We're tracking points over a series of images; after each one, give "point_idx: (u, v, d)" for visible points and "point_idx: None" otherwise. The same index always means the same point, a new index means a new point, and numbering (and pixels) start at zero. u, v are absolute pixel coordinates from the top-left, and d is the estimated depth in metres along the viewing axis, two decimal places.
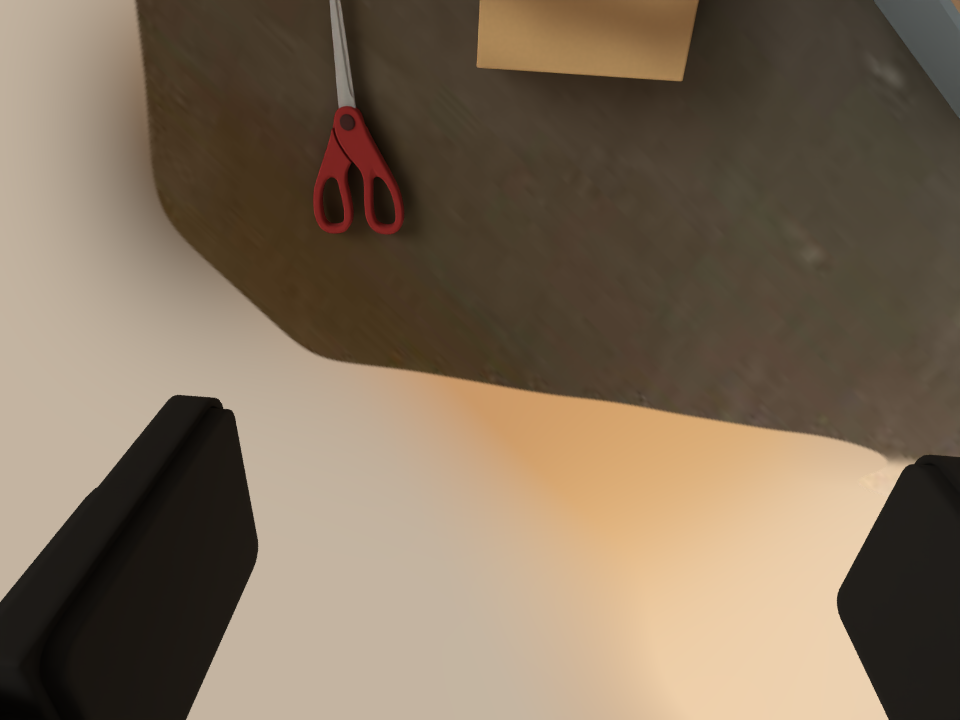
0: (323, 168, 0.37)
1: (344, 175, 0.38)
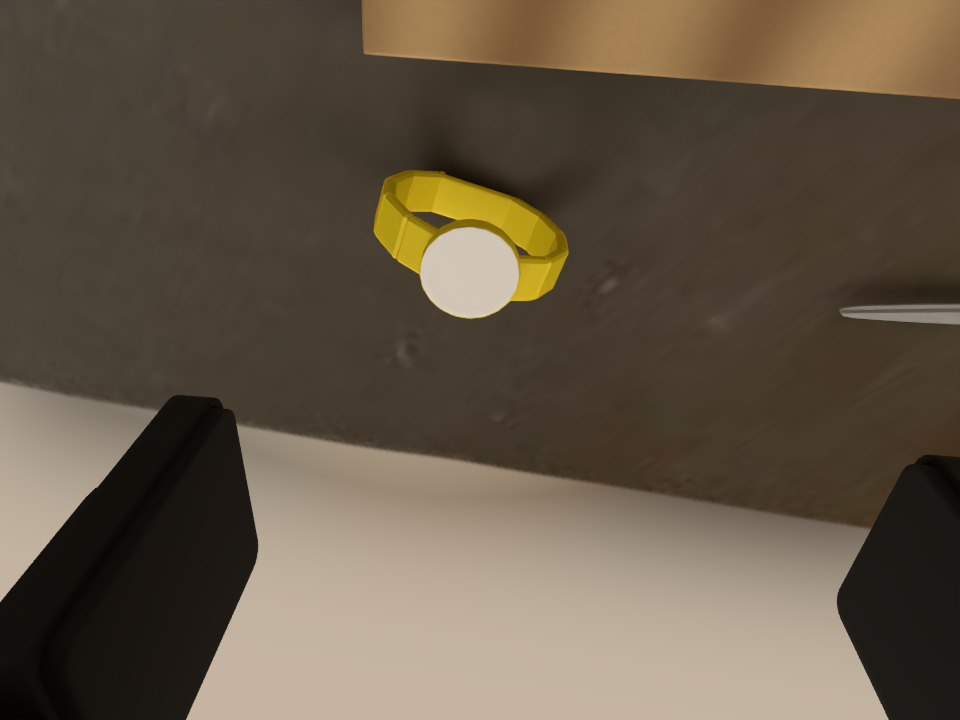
0: None
1: None
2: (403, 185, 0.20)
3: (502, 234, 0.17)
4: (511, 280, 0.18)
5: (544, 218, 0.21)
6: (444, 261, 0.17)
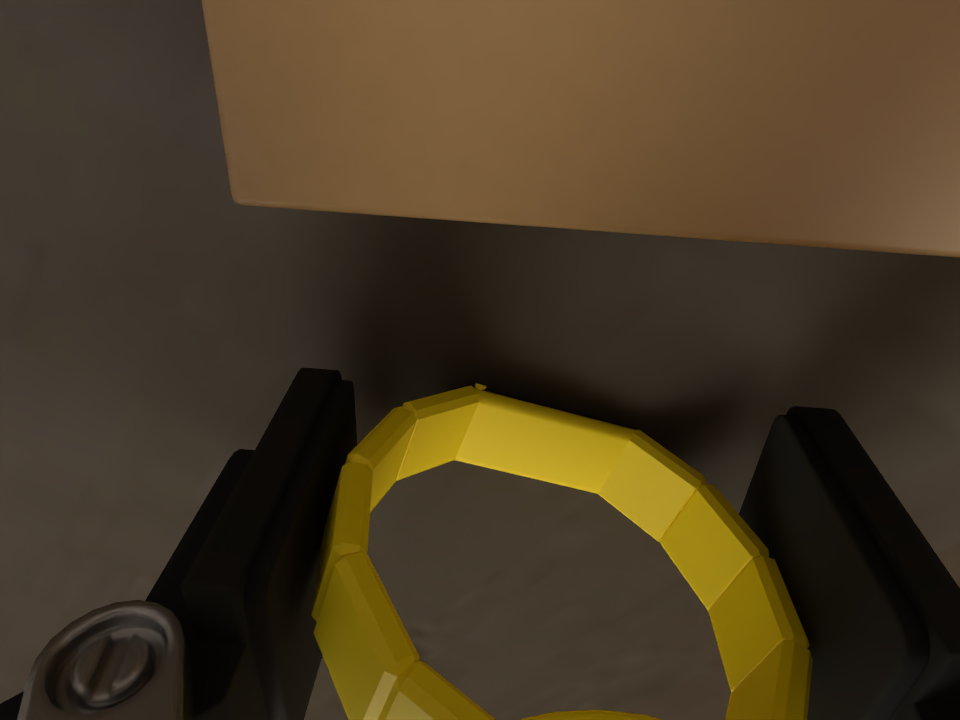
0: None
1: None
2: (391, 455, 0.08)
3: None
4: None
5: (712, 497, 0.09)
6: None
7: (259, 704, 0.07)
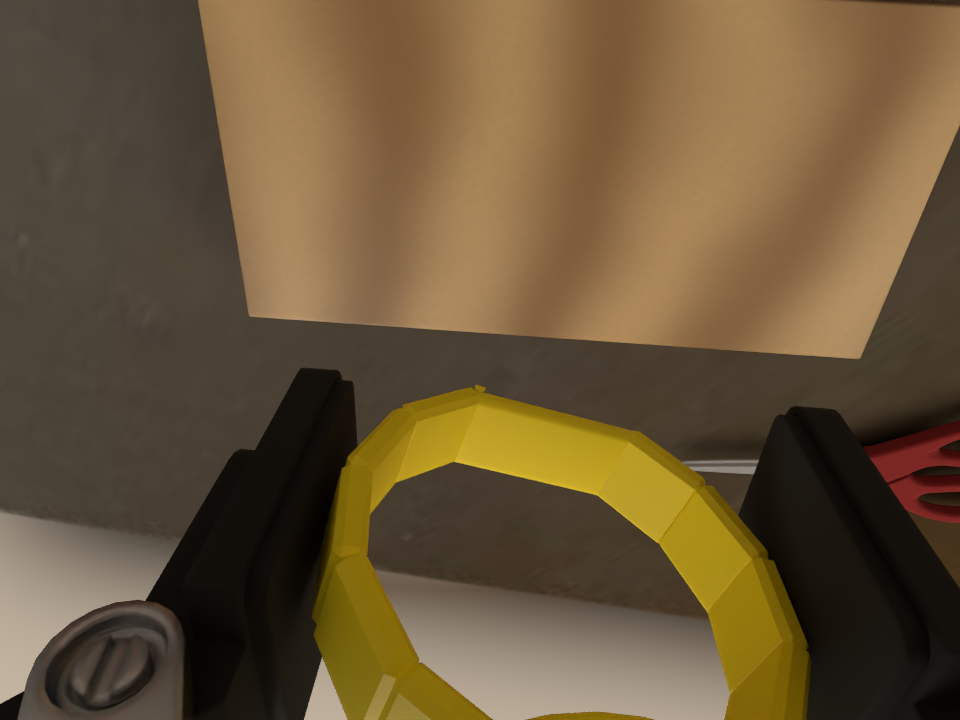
0: (904, 506, 0.28)
1: (923, 485, 0.27)
2: (391, 457, 0.08)
3: None
4: None
5: (711, 499, 0.09)
6: None
7: (259, 703, 0.07)
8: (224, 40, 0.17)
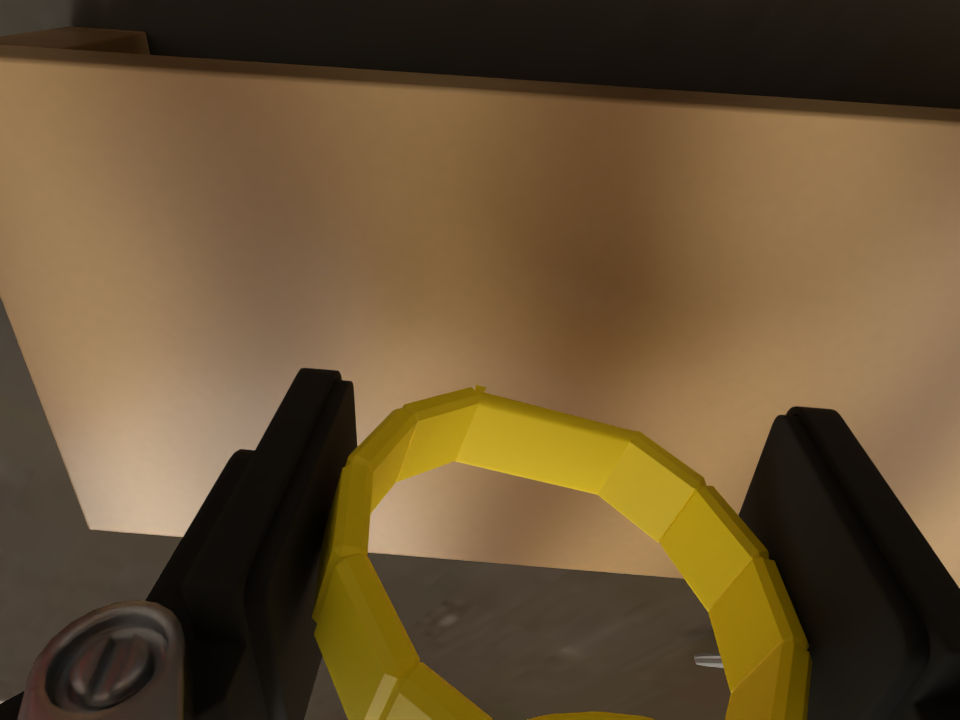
0: None
1: None
2: (392, 456, 0.08)
3: None
4: None
5: (711, 499, 0.09)
6: None
7: (259, 704, 0.07)
8: None
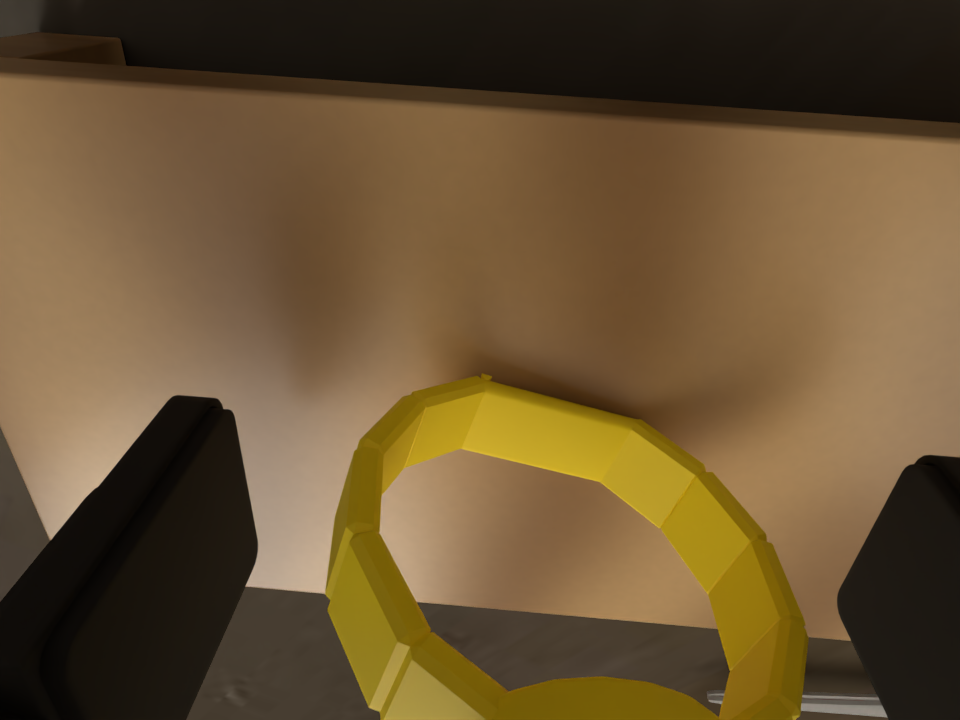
0: None
1: None
2: (401, 441, 0.09)
3: None
4: None
5: (712, 484, 0.10)
6: None
7: None
8: None
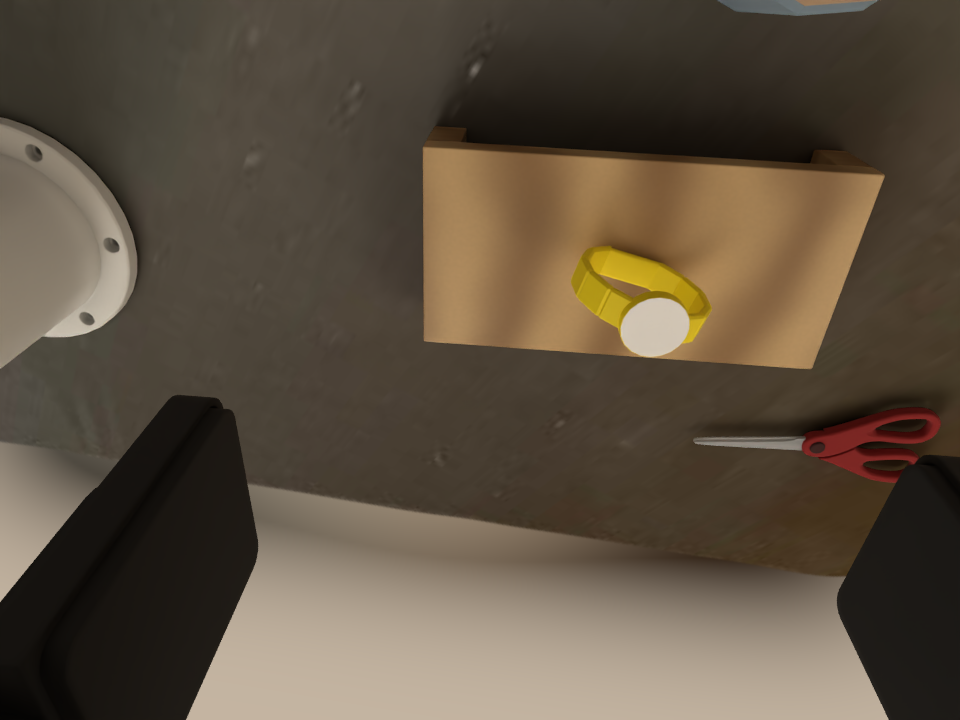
0: (852, 470, 0.40)
1: (865, 455, 0.39)
2: (589, 260, 0.28)
3: (679, 301, 0.25)
4: (683, 331, 0.26)
5: (686, 279, 0.29)
6: (638, 319, 0.25)
7: None
8: (434, 186, 0.29)
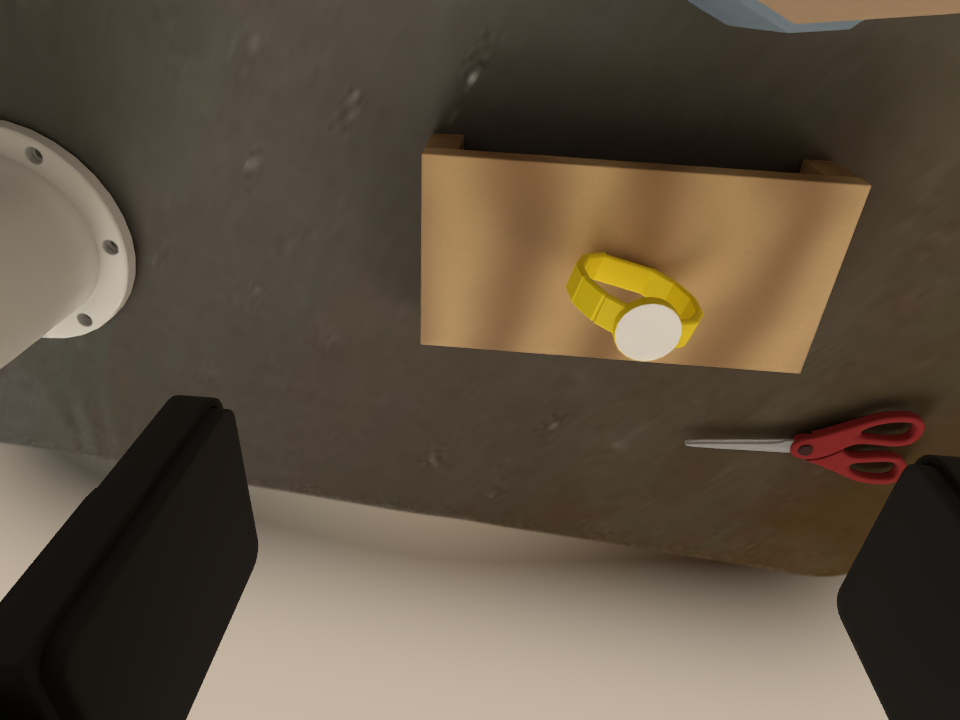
0: (839, 472, 0.41)
1: (851, 457, 0.40)
2: (584, 265, 0.29)
3: (672, 307, 0.26)
4: (675, 337, 0.26)
5: (678, 285, 0.30)
6: (632, 325, 0.26)
7: None
8: (433, 192, 0.30)
